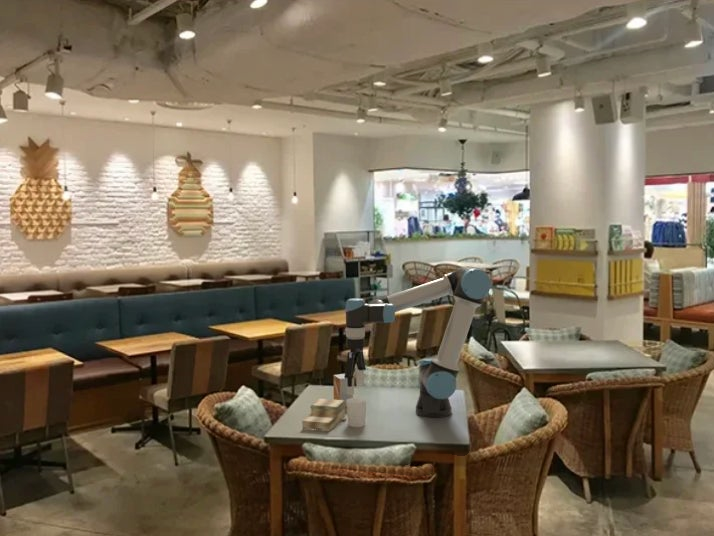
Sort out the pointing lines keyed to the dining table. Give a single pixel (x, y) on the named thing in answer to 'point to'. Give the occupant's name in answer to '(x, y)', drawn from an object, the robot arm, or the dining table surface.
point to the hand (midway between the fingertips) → (355, 390)
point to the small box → (341, 388)
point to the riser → (324, 414)
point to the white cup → (356, 412)
